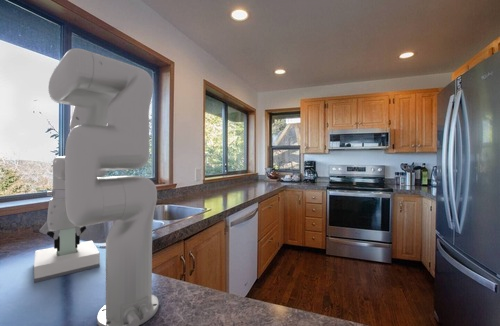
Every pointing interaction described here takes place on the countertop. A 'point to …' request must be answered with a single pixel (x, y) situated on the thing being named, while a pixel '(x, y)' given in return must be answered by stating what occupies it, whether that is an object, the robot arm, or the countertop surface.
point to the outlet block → (65, 261)
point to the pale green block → (67, 241)
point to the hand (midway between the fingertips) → (67, 248)
